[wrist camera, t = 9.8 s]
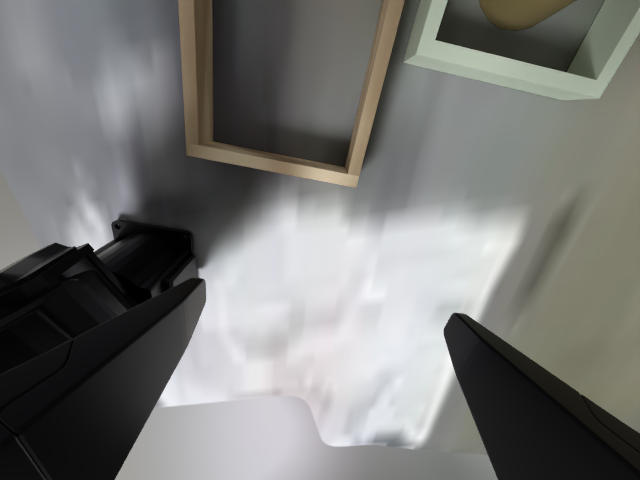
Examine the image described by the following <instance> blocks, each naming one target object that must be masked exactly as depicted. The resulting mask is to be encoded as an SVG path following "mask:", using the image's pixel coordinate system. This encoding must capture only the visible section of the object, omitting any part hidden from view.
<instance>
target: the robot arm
mask: <svg viewBox="0 0 640 480" xmlns="http://www.w3.org/2000/svg"><path fill="white" fill-rule="evenodd" d="M118 224H119V225H120V226H121V227H119V226H118ZM111 226H112V231H113V235H114V240H113V241H111V242H109V243H108V244H106V245H105V246H103V247H101V248H100V249H98V250H96V251H95V252H93V251H94V249H93V248H92V247H91V246H90V245H89V243H87V244H84V245H82V246H79V247H77V248H76V247H75V246H74V247H67V246H64V245H61V244H58V243H54V244H51V245H49V246H46V247H44V248H42V249H40V250H38V251H36V252H34V253H32V254H30V255H28V256H26V257H24V258H22V259H20V260H18V261H16V262H14V263H12V264H11V265H9V266H7V267H6V268H4V269H2V270H1V271H0V480H115V478H116V476H117V474H118V472H119V471H120V469H121V467H122V465H123V463H124V461H125V459H126V458H127V456H128V454H129V452H130V450H131V449H132V447H133V445H134V443H135V441H136V439H137V438H138V436H139V434H140V432H141V430H142V429H143V427H144V425H145V423H146V421H147V419H148V418H149V416H150V414H151V412H152V410H153V409H154V407H155V405H156V403H157V401H158V399H159V398H160V396H161V394H162V392H163V390H164V388H165V387H166V385H167V383H168V381H169V379H170V378H171V376H172V374H173V372H174V370H175V368H176V367H177V365H178V363H179V361H180V359H181V357H182V356H183V354H184V352H185V350H186V348H187V346H188V344H189V342H190V339H191V337H192V335H193V332H194V330H195V327H196V325H197V322H198V320H199V318H200V315H201V313H202V310H203V308H204V305H205V302H206V282H205V280H204V279H201V278H197V269H196V256H195V254H194V251H193V236H192V234H191V232H189V231H186V230H180V229H174V228H168V227H162V226H156V225H150V224H144V223H138V222H132V221H126V220H116V221H114V222H112V225H111ZM184 235H186V236H187V237H188V238H185V237H184ZM444 337H445V340H446V344H447V347H448V350H449V354H450V357H451V360H452V364H453V367H454V370H455V373H456V376H457V379H458V381H459V384H460V386H461V389H462V391H463V394H464V396H465V399H466V401H467V404H468V406H469V409H470V411H471V414H472V416H473V419H474V421H475V424H476V426H477V429H478V431H479V434H480V436H481V439H482V441H483V444H484V446H485V449H486V451H487V453H488V456H489V458H490V461H491V463H492V465H493V468H494V471H495V473H496V476H497V478H498V480H640V433H638V432H637V431H635V430H634V429H632V428H631V427H629V426H627V425H626V424H624V423H623V422H621V421H620V420H618V419H617V418H616V417H614V416H613V415H611V414H610V413H608V412H607V411H605V410H604V409H602V408H601V407H599V406H598V405H596V404H595V403H593V402H592V401H591V400H589V399H588V398H586V397H585V396H583V395H580V393H579V392H577V391H576V390H575V389H573V388H572V387H570V386H569V385H567V384H566V383H564V382H563V381H562V380H560V379H559V378H557V377H556V376H554V375H553V374H551V373H550V372H549V371H547V370H546V369H544V368H543V367H541V366H540V365H538V364H537V363H536V362H534V361H533V360H531V359H530V358H528V357H527V356H525V355H524V354H523V353H521V352H520V351H518V350H517V349H515V348H514V347H512V346H511V345H509V344H508V343H507V342H505V341H504V340H502V339H501V338H499V337H498V336H496V335H495V334H494V333H492V332H491V331H489V330H488V329H486V328H485V327H483V326H482V325H481V324H479V323H478V322H476V321H475V320H473V319H472V318H470V317H469V316H468V315H466V314H462V313H453V314H452V315H451V317H450V319H449V320H448V322H447V324H446V326H445V328H444Z"/></svg>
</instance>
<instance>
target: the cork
mask: <svg viewBox="0 0 640 480" xmlns="http://www.w3.org/2000/svg"><path fill="white" fill-rule="evenodd" d="M574 1H576V0H479V2H480V6H481V8H482V10H483V12H484V13H485V15H486V17H487V19H488V20H489V21H490V22H492V23H493V24H494V25H496V26H497V27H498V28H500V29H505V30H510V31H517V30H522V29H527V28H531V27H532V26H534V25H536V24H538V23H539V22H541V21H543V20H545V19H547V18H548V17H550V16H551V15H553V14H555V13H556V12H558V11H560V10H561V9H563V8H565V7H566V6H568V5H569V4H571V3H573V2H574Z"/></svg>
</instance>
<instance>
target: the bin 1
mask: <svg viewBox="0 0 640 480" xmlns="http://www.w3.org/2000/svg"><path fill="white" fill-rule="evenodd" d="M404 1H405V0H383V2H382V6H381V10H380V15H379V19H378V23H377V28H376V32H375V37H374V41H373V45H372V50H371V54H370V58H369V63H368V67H367V72H366V76H365V80H364V85H363V89H362V93H361V98H360V102H359V106H358V111H357V115H356V120H355V124H354V128H353V133H352V137H351V141H350V146H349V150H348V155H347V159H346V163H345V167H341V166H336V165H331V164H326V163H321V162H316V161H311V160H306V159H300V158H295V157H290V156H285V155H280V154H275V153H270V152H265V151H260V150H254V149H249V148H244V147H239V146H234V145H229V144H224V143H219V142H214V141H213V22H212V0H178V6H179V24H180V43H181V62H182V80H183V99H184V117H185V136H186V154H187V156H192V157H197V158H202V159H208V160H213V161H218V162H224V163H229V164H234V165H239V166H245V167H250V168H255V169H260V170H266V171H271V172H276V173H282V174H287V175H292V176H297V177H303V178H308V179H313V180H318V181H324V182H329V183H334V184H340V185H345V186H350V187H355V188H356V186H357V182H358V179H359V175H360V171H361V167H362V163H363V159H364V155H365V152H366V148H367V144H368V140H369V136H370V132H371V128H372V125H373V121H374V117H375V113H376V109H377V105H378V101H379V98H380V94H381V90H382V86H383V82H384V78H385V74H386V71H387V67H388V63H389V59H390V55H391V51H392V47H393V44H394V40H395V36H396V32H397V28H398V24H399V20H400V17H401V13H402V9H403V5H404Z"/></svg>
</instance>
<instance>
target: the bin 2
mask: <svg viewBox="0 0 640 480" xmlns="http://www.w3.org/2000/svg"><path fill="white" fill-rule="evenodd" d="M447 1H448V0H420V3H419V7H418V10H417V14H416V18H415V21H414V25H413V28H412V32H411V35H410V39H409V43H408V46H407V50H406V53H405V57H404V60H403V63H407V64H411V65H415V66H420V67H424V68H428V69H432V70H437V71H441V72H445V73H449V74H453V75H458V76H462V77H466V78H470V79H475V80H479V81H483V82H487V83H492V84H496V85H500V86H504V87H508V88H513V89H517V90H521V91H525V92H530V93H534V94H538V95H542V96H547V97H551V98H555V99H559V100H580V99H599V98H600V97H601V95H602V93H603V92H604V90H605V88H606V87H607V85H608V84H609V82H610V80H611V79H612V77H613V75H614V74H615V72H616V70H617V69H618V67H619V66H620V64H621V62H622V61H623V59H624V57H625V56H626V54H627V52H628V51H629V49H630V48H631V46H632V44H633V43H634V41H635V39H636V38H637V36H638V35H639V33H640V0H605V1H604V3H603V5H602V7H601V9H600V11H599V12H598V14H597V16H596V18H595V20H594V22H593V24H592V25H591V27H590V29H589V31H588V33H587V35H586V37H585V39H584V40H583V42H582V44H581V46H580V48H579V50H578V52H577V53H576V55H575V57H574V59H573V61H572V63H571V65H570V67H569V68H568V70H567V72H562V71H558V70H554V69H550V68H546V67H542V66H538V65H534V64H530V63H526V62H522V61H518V60H514V59H510V58H505V57H501V56H497V55H493V54H489V53H485V52H481V51H477V50H473V49H469V48H465V47H461V46H457V45H453V44H449V43H445V42H441V41H437V40H435V39H436V36H437V32H438V29H439V26H440V23H441V20H442V17H443V14H444V10H445V7H446V4H447Z"/></svg>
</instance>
